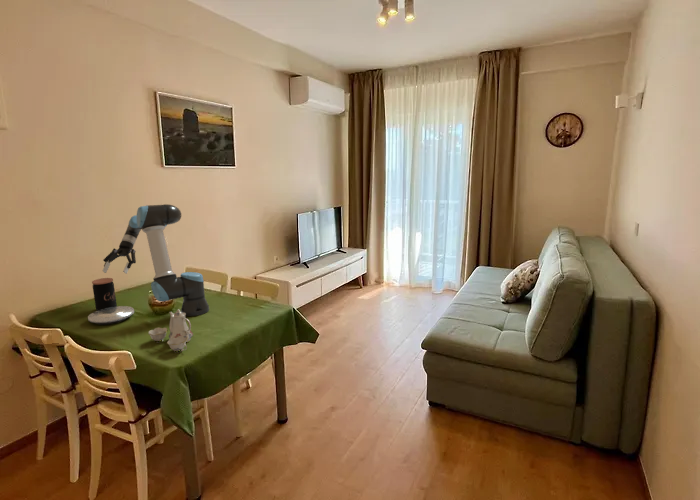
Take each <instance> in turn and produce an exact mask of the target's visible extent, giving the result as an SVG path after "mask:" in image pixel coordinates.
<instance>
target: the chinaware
mask: <svg viewBox="0 0 700 500" xmlns="http://www.w3.org/2000/svg"><path fill="white" fill-rule="evenodd" d="M168 314H169V315H170V319H169V325H168V326H169V327H163V328H162V327H155V328H154V329H151V330H148V335H149V336H150V338H151V339H152V340H153V341H154V342H155V341H160V340H162V341H163V340H164V339H165V338H166V336H167V333H168V328H169V334H168V338H169V339H168V340H167V341H166V345H168V346H169V348H170V349H171V350H172V351H174V352H175V351H179V350H181V351H180V352H183V351H187V349H188V348H187V343H189V342H191V339H192V337H193V336H194V333H193V332H192V330H191V328H192V324H191V321H190V320H189V319H188V318H186V316H185V315H186V313H183V312H181V309H179V308H178V309H177V310H176V311H175V312H174V313H173V312H172V311H169V313H168ZM188 341H189V342H188ZM186 342H187V343H186Z"/></svg>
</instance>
